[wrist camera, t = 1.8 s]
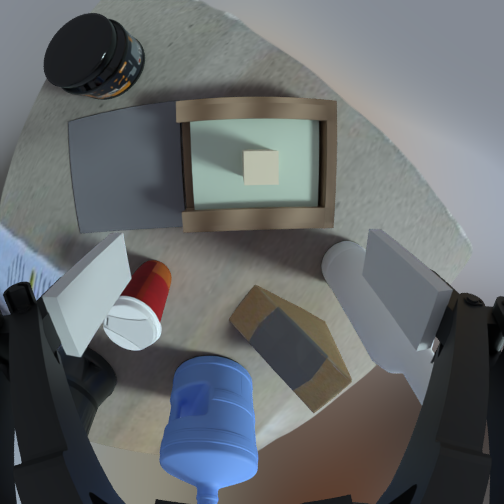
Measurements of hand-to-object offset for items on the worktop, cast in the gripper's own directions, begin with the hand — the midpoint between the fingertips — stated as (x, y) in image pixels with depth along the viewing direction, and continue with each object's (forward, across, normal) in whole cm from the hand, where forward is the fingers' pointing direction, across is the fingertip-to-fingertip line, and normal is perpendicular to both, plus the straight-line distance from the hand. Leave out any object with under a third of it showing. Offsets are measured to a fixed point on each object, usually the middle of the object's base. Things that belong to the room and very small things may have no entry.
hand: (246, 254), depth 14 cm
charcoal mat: (+25, -18, +2) cm, 31 cm away
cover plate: (+21, +1, +3) cm, 21 cm away
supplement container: (+26, -19, +18) cm, 37 cm away
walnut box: (+26, +1, +3) cm, 26 cm away
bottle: (+26, +16, -13) cm, 33 cm away
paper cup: (+25, -14, -14) cm, 33 cm away
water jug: (+25, -7, -38) cm, 46 cm away
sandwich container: (+26, +5, -24) cm, 36 cm away
